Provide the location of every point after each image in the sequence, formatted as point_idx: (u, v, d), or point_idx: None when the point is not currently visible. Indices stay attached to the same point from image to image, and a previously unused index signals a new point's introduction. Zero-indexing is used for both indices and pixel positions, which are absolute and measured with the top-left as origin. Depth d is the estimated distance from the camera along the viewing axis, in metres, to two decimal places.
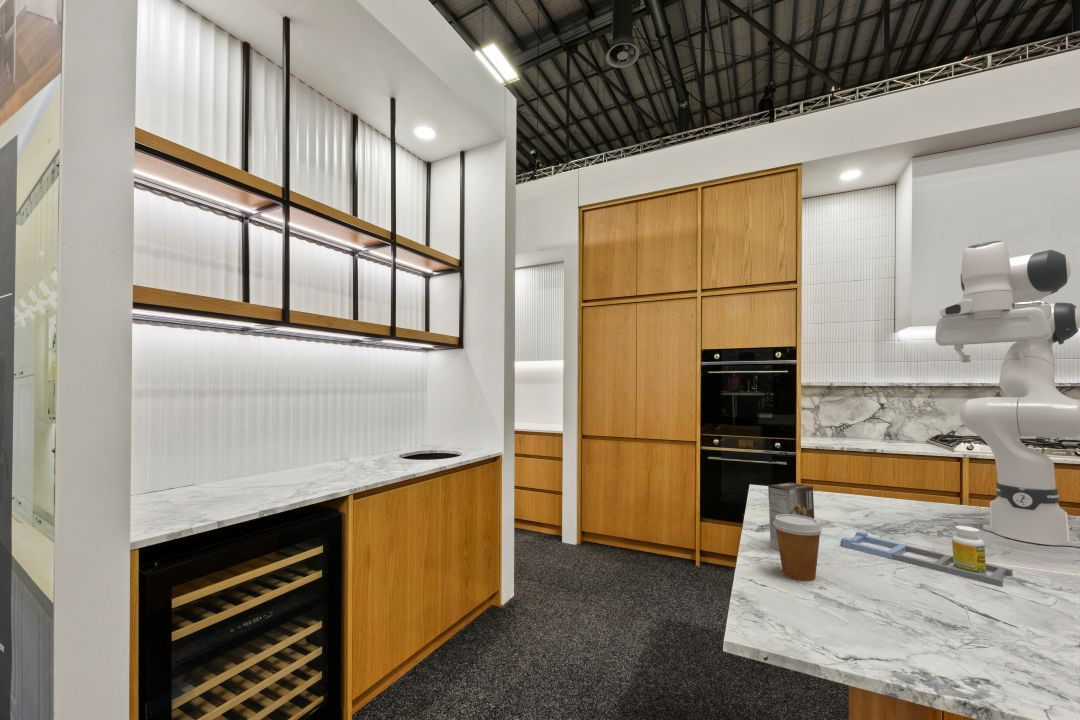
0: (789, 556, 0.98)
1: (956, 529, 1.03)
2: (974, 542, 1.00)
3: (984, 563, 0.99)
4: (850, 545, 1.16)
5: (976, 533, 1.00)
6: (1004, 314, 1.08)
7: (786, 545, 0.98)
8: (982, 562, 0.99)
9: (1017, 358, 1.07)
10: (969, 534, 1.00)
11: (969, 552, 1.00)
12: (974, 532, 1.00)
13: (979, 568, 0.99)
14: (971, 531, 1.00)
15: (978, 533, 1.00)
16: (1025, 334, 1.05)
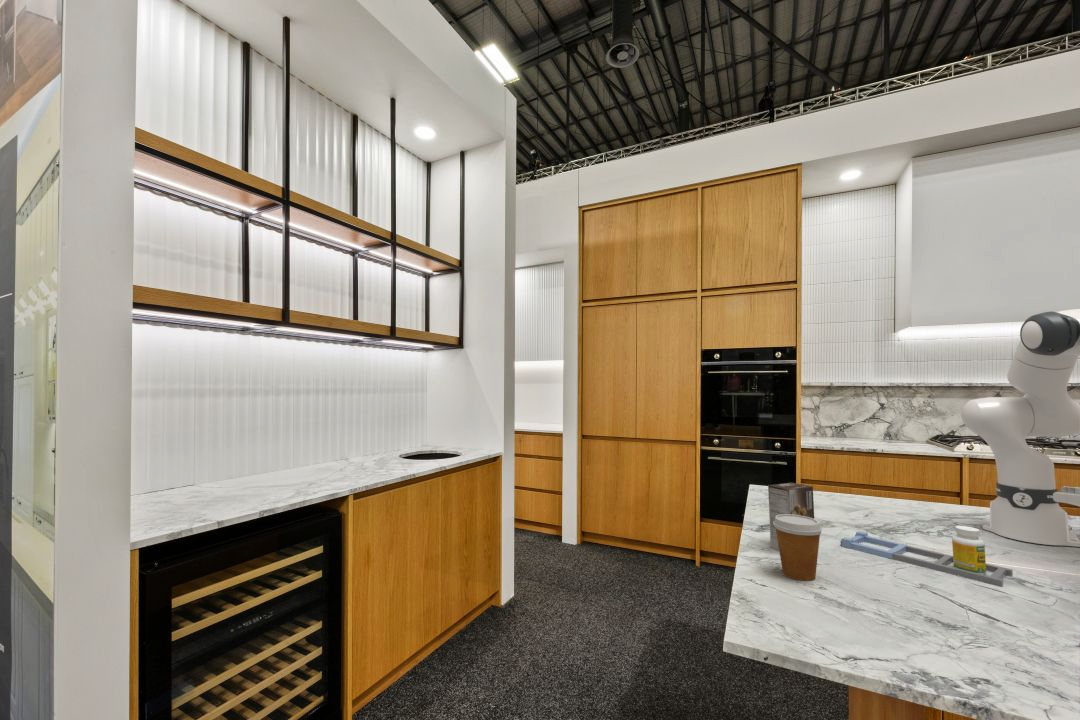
0: (789, 556, 0.98)
1: (956, 529, 1.03)
2: (974, 542, 1.00)
3: (984, 563, 0.99)
4: (850, 545, 1.16)
5: (976, 534, 1.00)
6: None
7: (786, 545, 0.98)
8: (982, 562, 0.99)
9: None
10: (969, 534, 1.00)
11: (969, 552, 1.00)
12: (974, 532, 1.00)
13: (979, 568, 0.99)
14: (971, 531, 1.00)
15: (978, 533, 1.00)
16: None
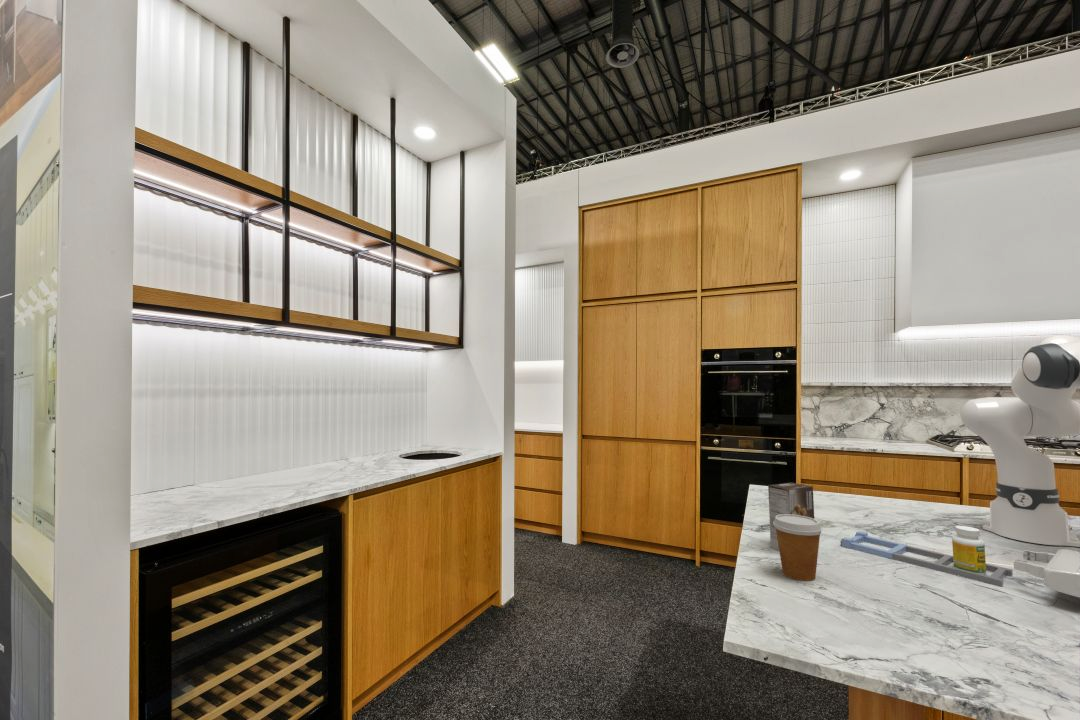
0: (789, 556, 0.98)
1: (956, 529, 1.03)
2: (974, 542, 1.00)
3: (984, 563, 0.99)
4: (850, 545, 1.16)
5: (976, 533, 1.00)
6: None
7: (786, 545, 0.98)
8: (982, 562, 0.99)
9: None
10: (969, 534, 1.00)
11: (969, 552, 1.00)
12: (974, 532, 1.00)
13: (979, 568, 0.99)
14: (971, 531, 1.00)
15: (978, 533, 1.00)
16: None
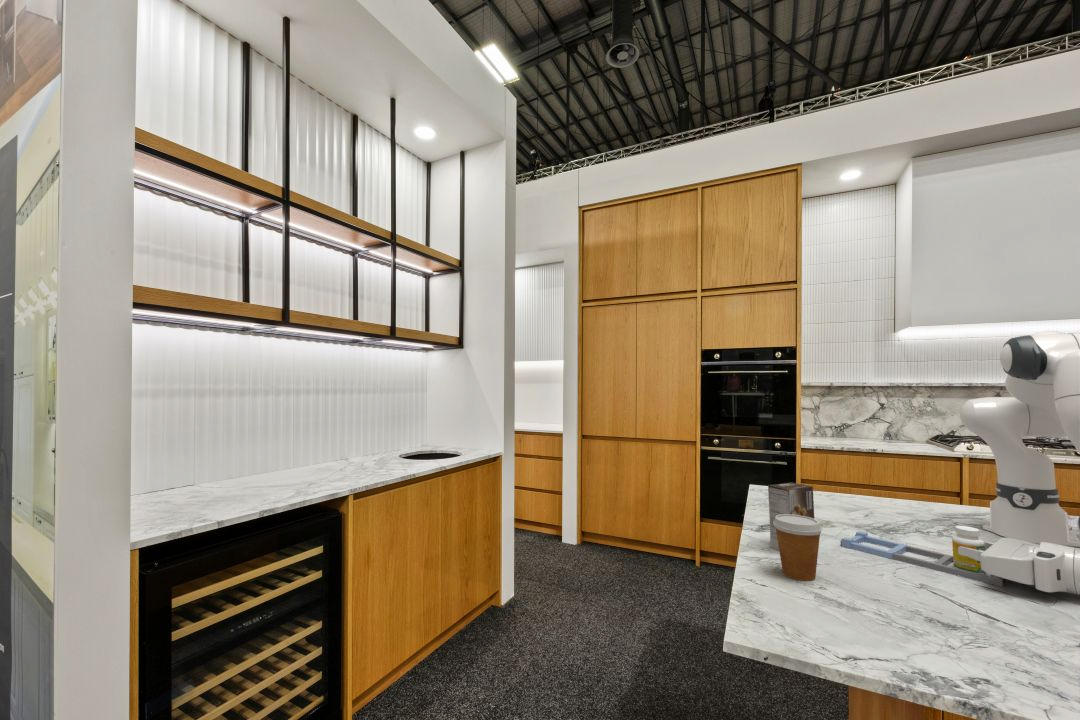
0: (789, 556, 0.98)
1: (956, 529, 1.03)
2: (974, 542, 1.00)
3: None
4: (850, 545, 1.16)
5: (976, 533, 1.00)
6: None
7: (786, 545, 0.98)
8: None
9: None
10: (969, 534, 1.00)
11: None
12: (974, 532, 1.00)
13: (979, 568, 0.99)
14: (971, 531, 1.00)
15: (978, 533, 1.00)
16: None
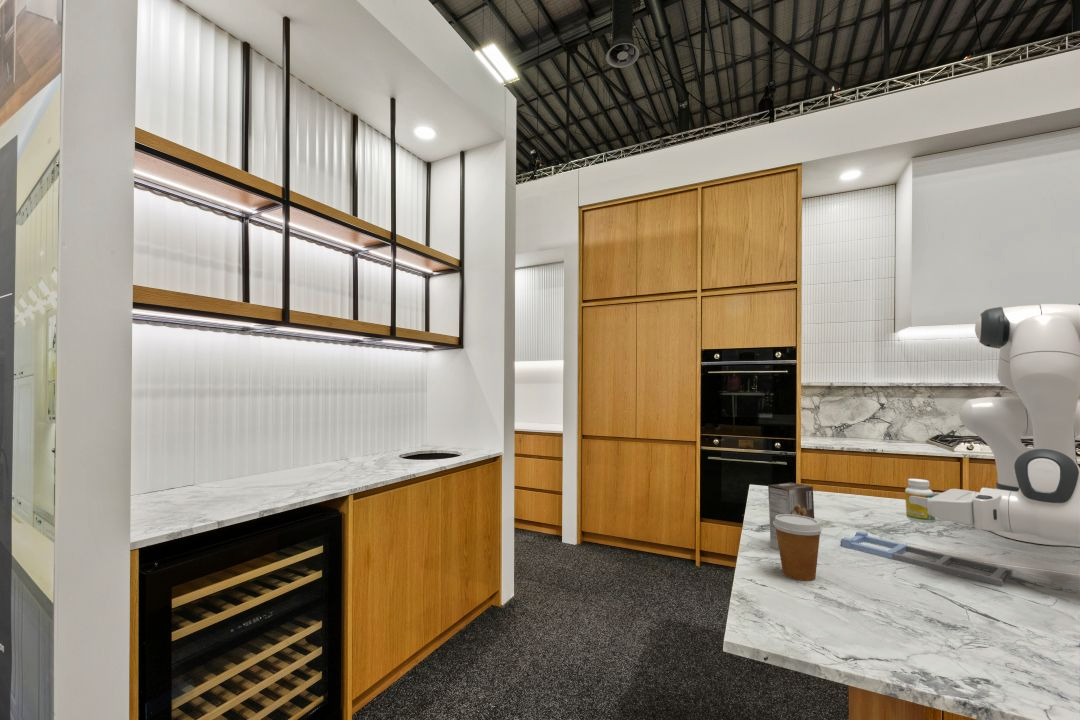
0: (789, 556, 0.98)
1: (908, 481, 1.10)
2: (924, 492, 1.07)
3: None
4: (850, 545, 1.16)
5: (925, 484, 1.08)
6: None
7: (786, 545, 0.98)
8: None
9: None
10: (920, 485, 1.08)
11: None
12: (924, 483, 1.08)
13: (929, 516, 1.06)
14: (921, 482, 1.08)
15: (928, 484, 1.08)
16: None
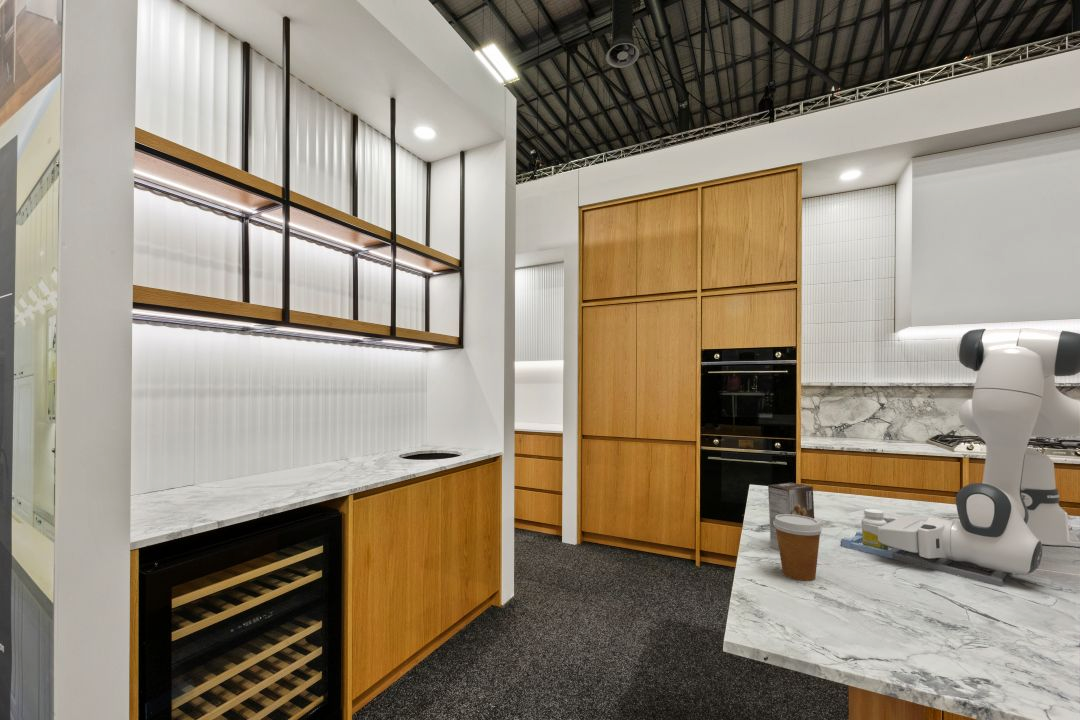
0: (789, 556, 0.98)
1: (864, 512, 1.17)
2: (878, 522, 1.14)
3: None
4: (850, 545, 1.16)
5: (879, 515, 1.15)
6: None
7: (786, 545, 0.98)
8: None
9: None
10: (874, 516, 1.15)
11: None
12: (878, 514, 1.15)
13: (882, 545, 1.14)
14: (875, 513, 1.15)
15: (881, 515, 1.15)
16: None
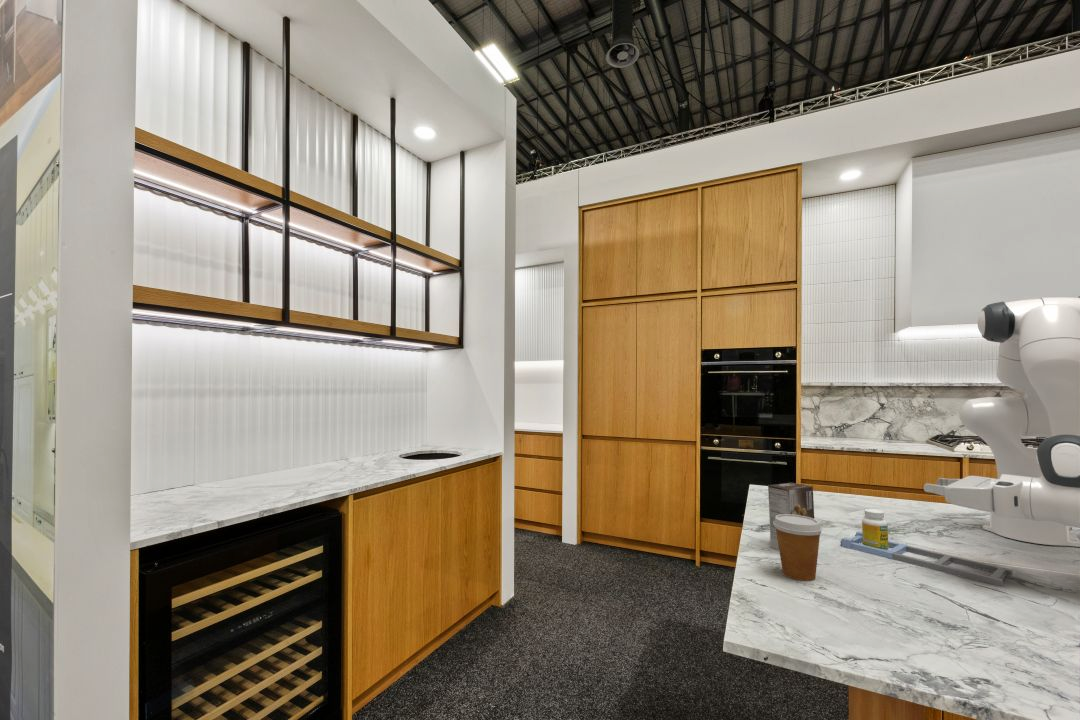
0: (789, 556, 0.98)
1: (865, 511, 1.17)
2: (878, 522, 1.14)
3: (886, 541, 1.14)
4: (850, 545, 1.16)
5: (880, 515, 1.15)
6: None
7: (786, 545, 0.98)
8: (885, 540, 1.14)
9: None
10: (874, 516, 1.15)
11: (874, 531, 1.14)
12: (878, 514, 1.15)
13: (882, 545, 1.14)
14: (876, 513, 1.15)
15: (882, 515, 1.15)
16: None
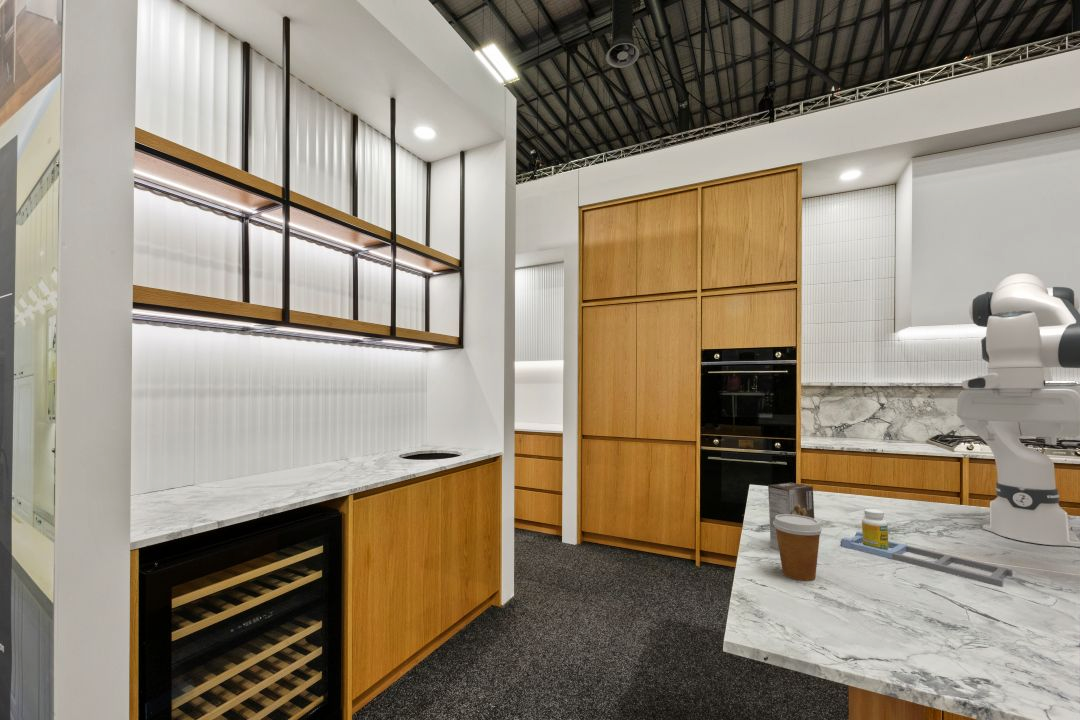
0: (789, 556, 0.98)
1: (865, 511, 1.17)
2: (878, 522, 1.14)
3: (886, 541, 1.14)
4: (850, 545, 1.16)
5: (880, 515, 1.15)
6: (1034, 393, 0.99)
7: (786, 545, 0.98)
8: (885, 540, 1.14)
9: (1049, 442, 0.97)
10: (874, 516, 1.15)
11: (874, 531, 1.14)
12: (878, 514, 1.15)
13: (882, 545, 1.14)
14: (876, 513, 1.15)
15: (882, 515, 1.15)
16: (1059, 417, 0.96)
